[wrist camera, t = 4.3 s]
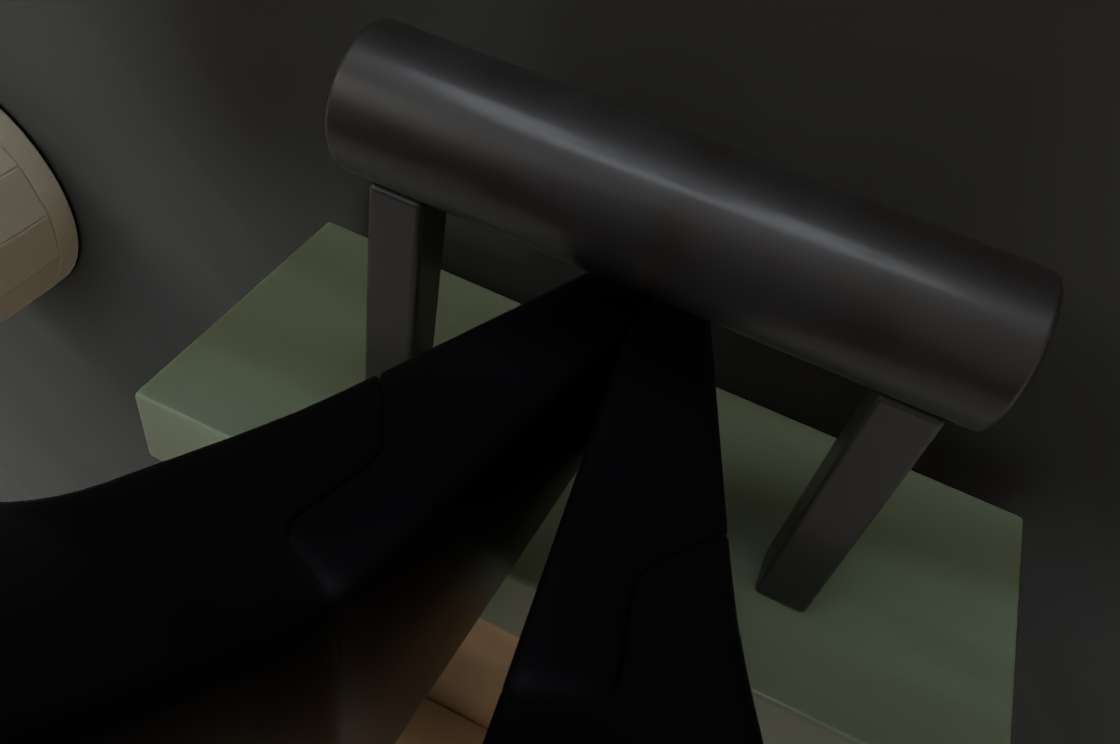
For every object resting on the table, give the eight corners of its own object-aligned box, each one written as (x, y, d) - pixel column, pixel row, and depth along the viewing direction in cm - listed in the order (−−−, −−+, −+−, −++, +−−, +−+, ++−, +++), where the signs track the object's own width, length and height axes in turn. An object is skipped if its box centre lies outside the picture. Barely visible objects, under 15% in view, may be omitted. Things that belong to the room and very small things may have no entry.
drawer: (321, -127, 10) (27, -6, 7) (1308, 221, 8) (1425, 561, 5) (336, 620, 22) (230, 772, 19) (732, 822, 20) (678, 1020, 17)
